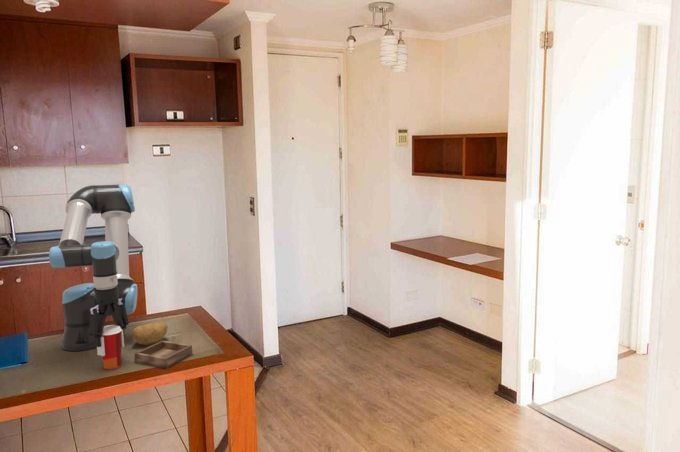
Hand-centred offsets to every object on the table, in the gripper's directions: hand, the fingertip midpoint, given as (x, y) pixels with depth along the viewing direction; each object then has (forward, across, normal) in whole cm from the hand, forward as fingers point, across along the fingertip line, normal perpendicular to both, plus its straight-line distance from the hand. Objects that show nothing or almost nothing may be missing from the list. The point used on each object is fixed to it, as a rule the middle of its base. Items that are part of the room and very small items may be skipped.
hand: (111, 350), depth 189 cm
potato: (+6, +23, +4) cm, 24 cm away
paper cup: (+6, 0, 0) cm, 6 cm away
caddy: (+6, +12, -12) cm, 18 cm away
